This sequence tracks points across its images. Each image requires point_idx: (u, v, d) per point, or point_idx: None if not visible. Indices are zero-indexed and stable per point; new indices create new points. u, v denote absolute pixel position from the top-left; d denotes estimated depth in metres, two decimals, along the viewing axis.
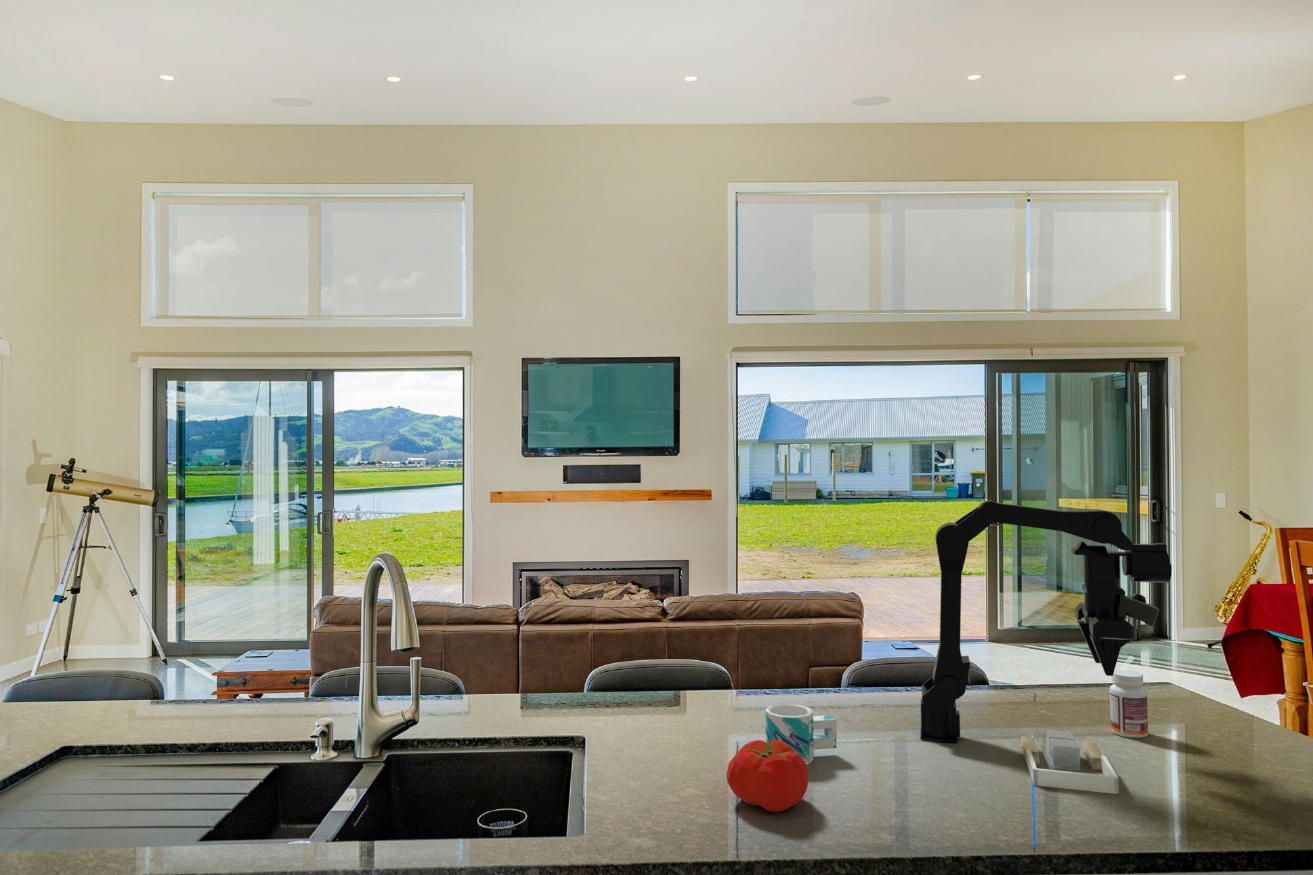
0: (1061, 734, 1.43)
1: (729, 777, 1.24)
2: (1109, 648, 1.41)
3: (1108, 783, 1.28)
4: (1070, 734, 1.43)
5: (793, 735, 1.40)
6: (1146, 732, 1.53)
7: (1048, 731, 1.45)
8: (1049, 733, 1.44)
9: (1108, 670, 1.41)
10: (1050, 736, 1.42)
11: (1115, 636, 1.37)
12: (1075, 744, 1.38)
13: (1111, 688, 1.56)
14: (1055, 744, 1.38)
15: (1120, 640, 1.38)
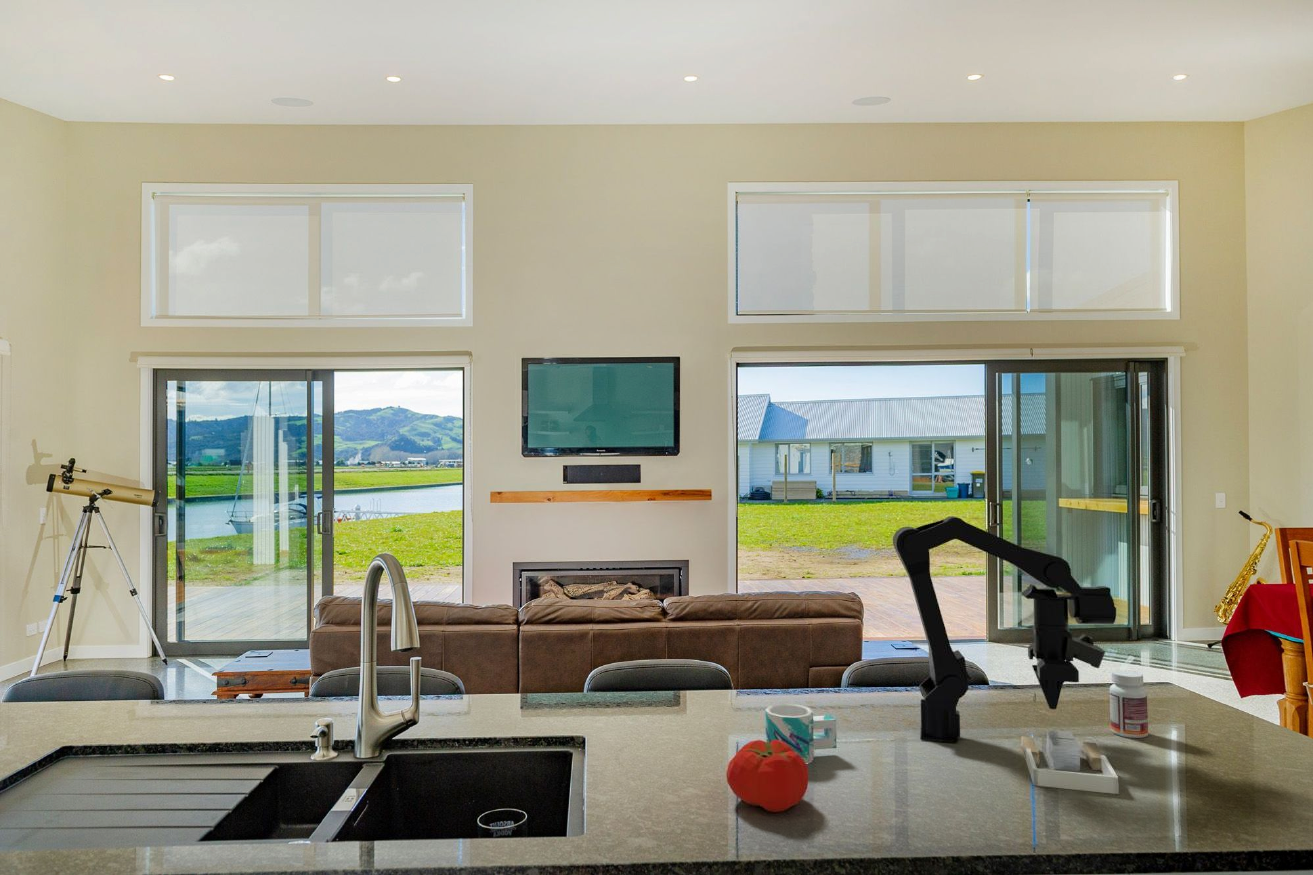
0: (1061, 734, 1.43)
1: (729, 777, 1.24)
2: (1052, 683, 1.50)
3: (1108, 783, 1.28)
4: (1070, 734, 1.43)
5: (793, 735, 1.40)
6: (1146, 732, 1.53)
7: (1048, 731, 1.45)
8: (1049, 733, 1.44)
9: (1051, 704, 1.50)
10: (1050, 736, 1.42)
11: (1060, 679, 1.42)
12: (1075, 744, 1.38)
13: (1111, 688, 1.56)
14: (1055, 744, 1.38)
15: None
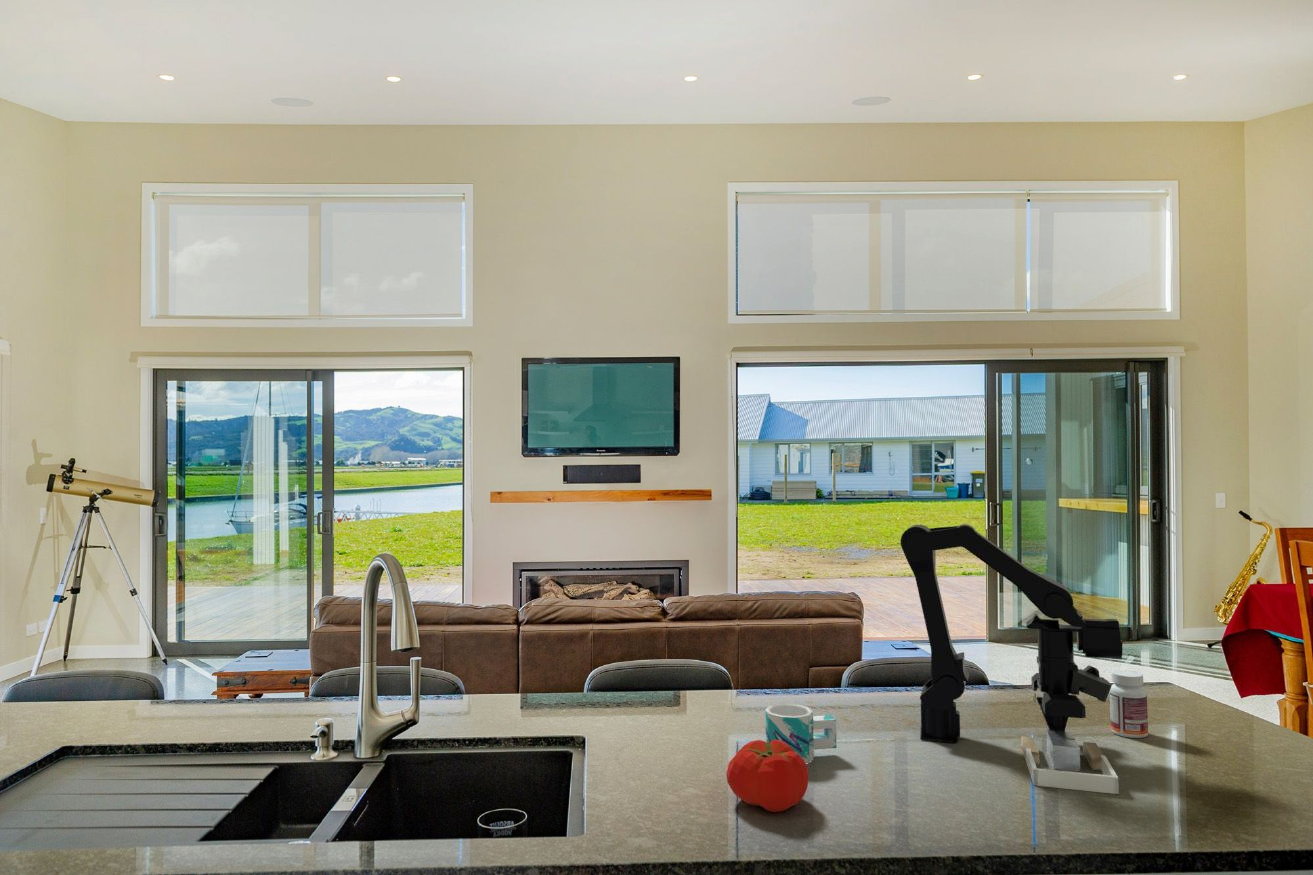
0: (1062, 734, 1.43)
1: (729, 777, 1.24)
2: (1057, 717, 1.46)
3: (1108, 783, 1.28)
4: (1070, 734, 1.43)
5: (793, 735, 1.40)
6: (1146, 732, 1.53)
7: (1048, 731, 1.45)
8: (1049, 733, 1.44)
9: None
10: (1050, 736, 1.42)
11: (1066, 715, 1.38)
12: (1075, 744, 1.38)
13: (1111, 688, 1.56)
14: (1055, 744, 1.38)
15: None
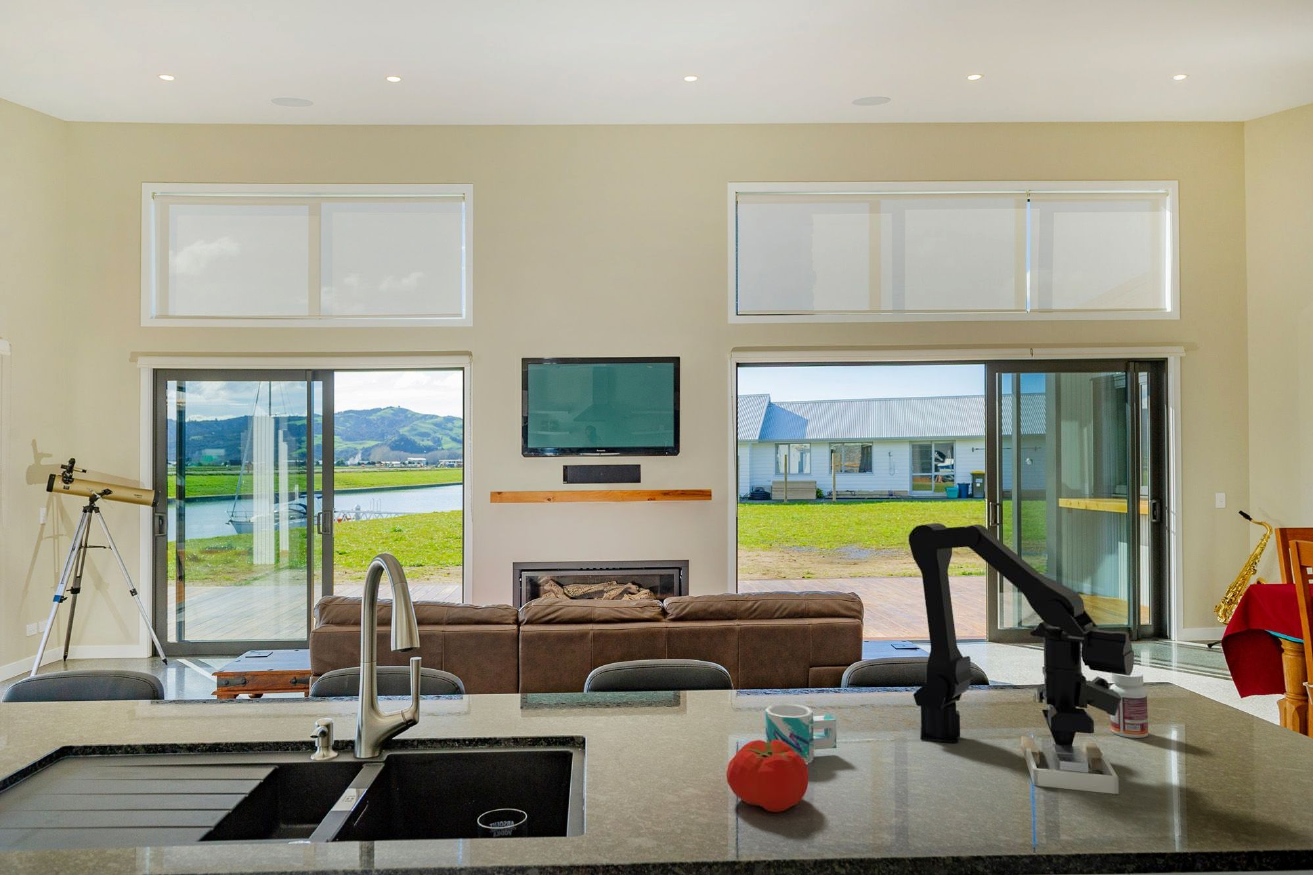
0: (1069, 749, 1.35)
1: (729, 777, 1.24)
2: (1064, 731, 1.38)
3: (1108, 783, 1.28)
4: (1078, 749, 1.35)
5: (793, 735, 1.40)
6: (1146, 732, 1.53)
7: (1055, 746, 1.37)
8: (1056, 748, 1.36)
9: None
10: (1057, 751, 1.35)
11: (1074, 730, 1.30)
12: (1083, 759, 1.31)
13: (1111, 688, 1.56)
14: (1062, 759, 1.31)
15: None
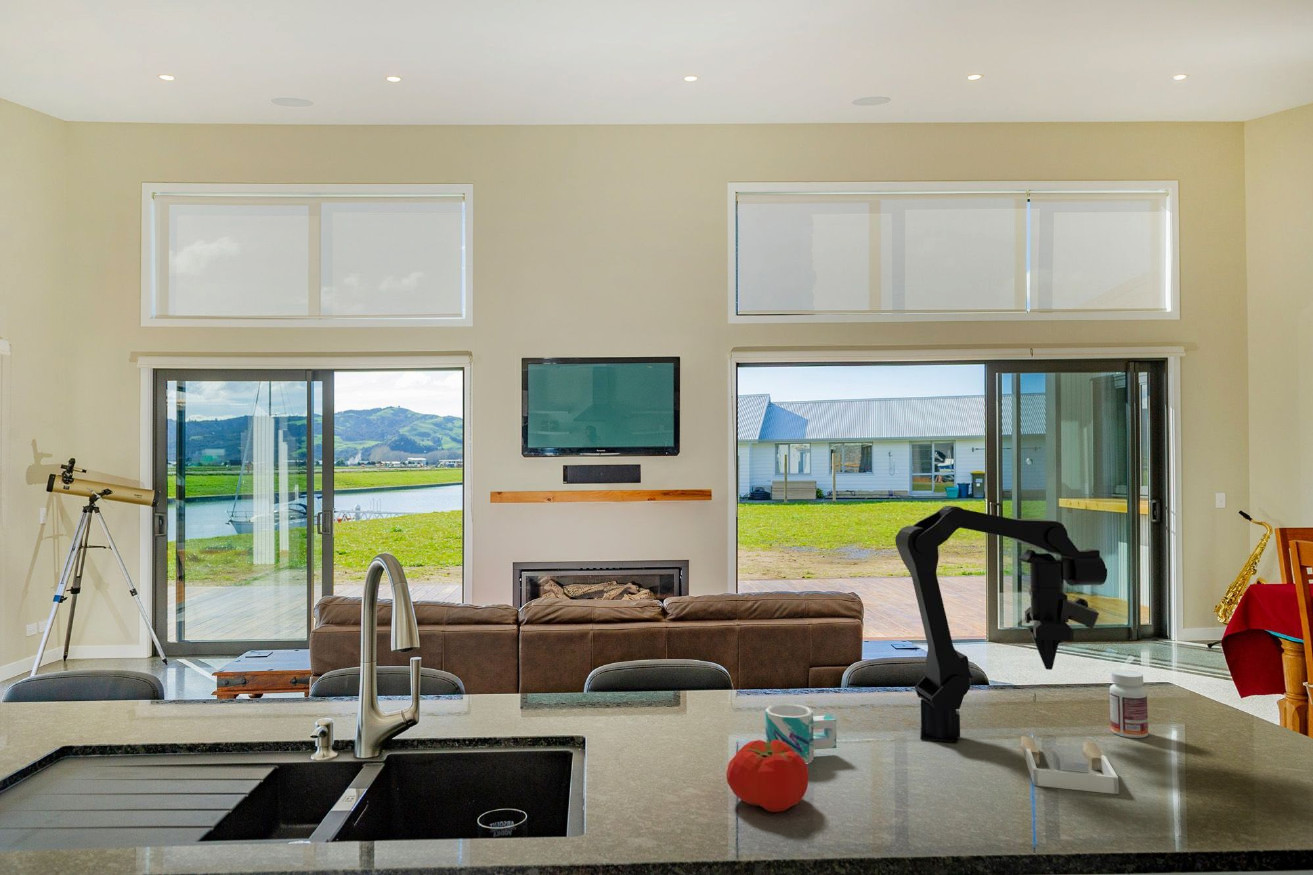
0: (1069, 750, 1.35)
1: (729, 777, 1.24)
2: (1048, 644, 1.55)
3: (1108, 783, 1.28)
4: (1078, 750, 1.35)
5: (793, 735, 1.40)
6: (1146, 732, 1.53)
7: (1055, 746, 1.37)
8: (1056, 749, 1.36)
9: (1048, 664, 1.55)
10: (1057, 752, 1.35)
11: (1056, 638, 1.47)
12: (1083, 760, 1.31)
13: (1111, 688, 1.56)
14: (1062, 760, 1.31)
15: None
